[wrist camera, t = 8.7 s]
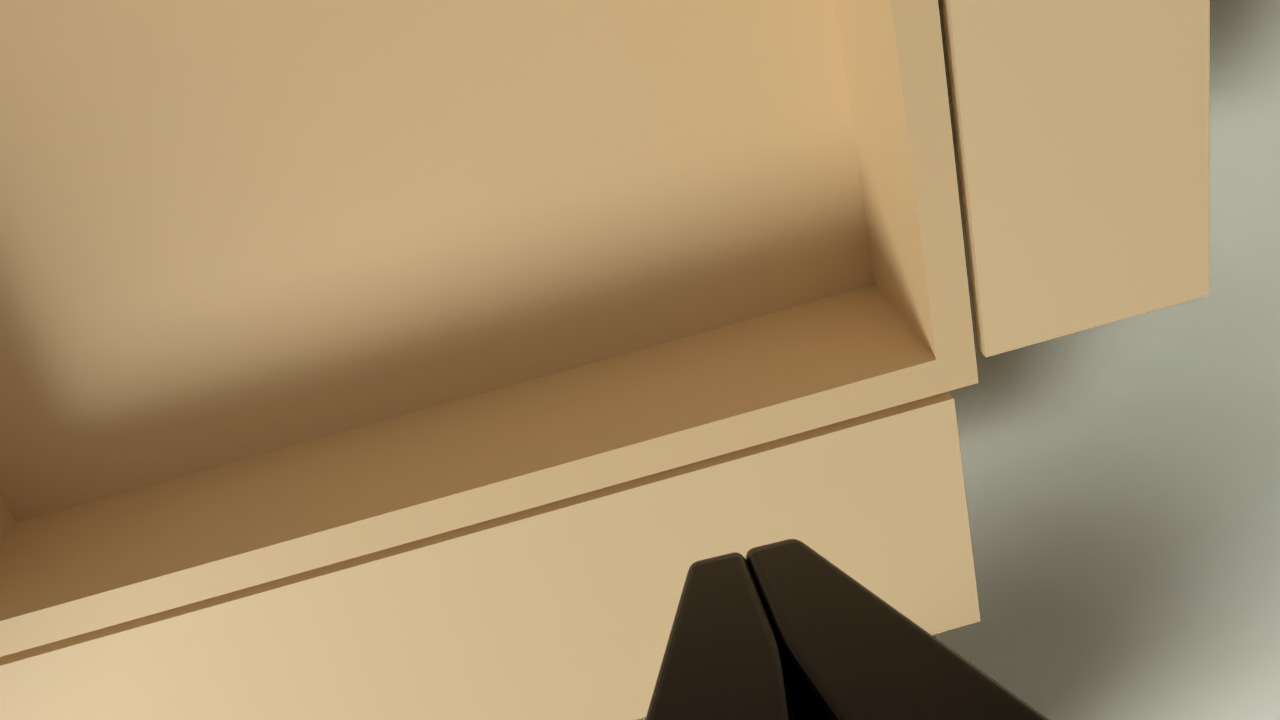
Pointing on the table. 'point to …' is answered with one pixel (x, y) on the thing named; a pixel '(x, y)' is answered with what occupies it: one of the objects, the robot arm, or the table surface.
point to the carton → (529, 322)
